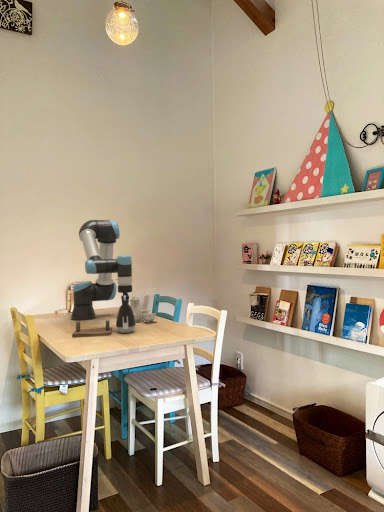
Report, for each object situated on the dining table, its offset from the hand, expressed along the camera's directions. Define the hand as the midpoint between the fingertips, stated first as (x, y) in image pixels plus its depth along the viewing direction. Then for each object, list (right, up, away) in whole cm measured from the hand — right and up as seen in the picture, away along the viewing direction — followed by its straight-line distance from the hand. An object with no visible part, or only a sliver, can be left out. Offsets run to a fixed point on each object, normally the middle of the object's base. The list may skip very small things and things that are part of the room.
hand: (126, 326), depth 211 cm
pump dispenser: (0, -3, 0) cm, 3 cm away
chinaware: (+3, -3, +34) cm, 34 cm away
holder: (-17, -3, -2) cm, 17 cm away
